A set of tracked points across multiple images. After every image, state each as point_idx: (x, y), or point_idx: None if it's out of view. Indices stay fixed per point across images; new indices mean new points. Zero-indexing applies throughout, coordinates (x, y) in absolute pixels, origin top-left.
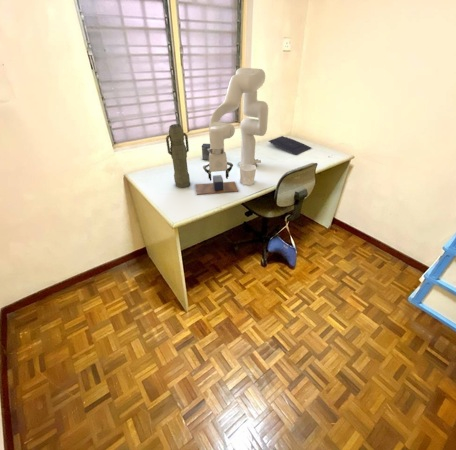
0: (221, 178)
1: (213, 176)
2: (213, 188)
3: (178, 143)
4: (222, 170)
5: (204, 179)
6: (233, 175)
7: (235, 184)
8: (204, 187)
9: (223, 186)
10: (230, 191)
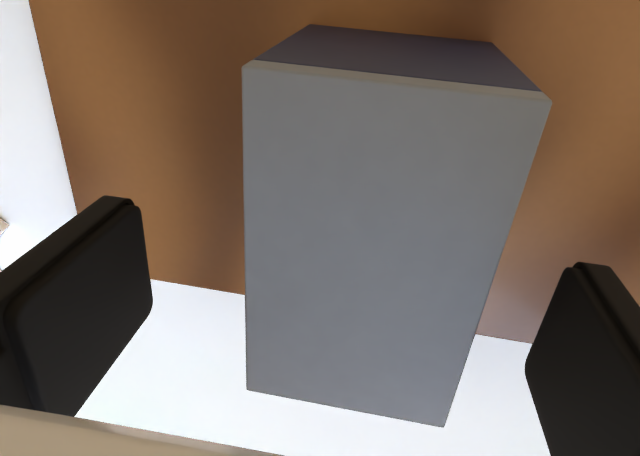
0: (266, 241)
1: (445, 394)
2: None
3: None
4: (18, 433)
5: (492, 451)
6: (111, 412)
7: (72, 182)
8: (631, 242)
9: None
10: None
